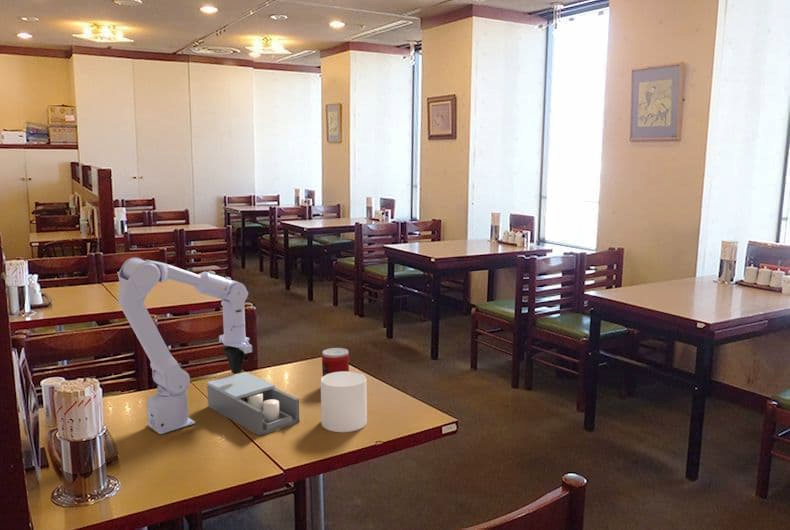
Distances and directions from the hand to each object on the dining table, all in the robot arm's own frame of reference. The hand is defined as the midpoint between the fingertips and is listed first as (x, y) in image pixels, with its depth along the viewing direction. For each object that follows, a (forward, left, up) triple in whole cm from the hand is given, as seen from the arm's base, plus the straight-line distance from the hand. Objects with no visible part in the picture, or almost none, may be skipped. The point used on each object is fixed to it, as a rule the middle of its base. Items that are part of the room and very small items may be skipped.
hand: (236, 372), depth 173 cm
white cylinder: (+14, -29, -10) cm, 34 cm away
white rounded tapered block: (0, -9, -10) cm, 13 cm away
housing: (0, -8, -10) cm, 12 cm away
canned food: (+29, -7, -10) cm, 31 cm away
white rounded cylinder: (0, -17, -9) cm, 19 cm away
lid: (0, -1, -3) cm, 4 cm away
